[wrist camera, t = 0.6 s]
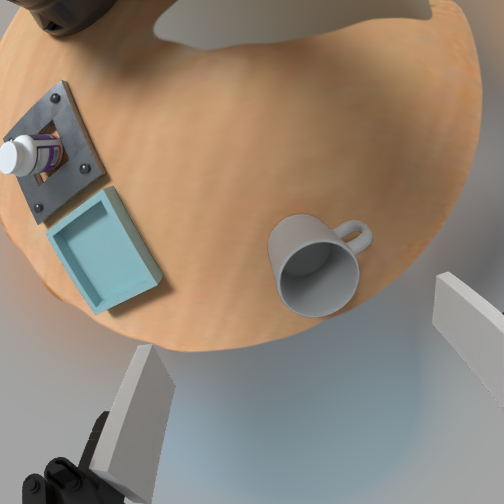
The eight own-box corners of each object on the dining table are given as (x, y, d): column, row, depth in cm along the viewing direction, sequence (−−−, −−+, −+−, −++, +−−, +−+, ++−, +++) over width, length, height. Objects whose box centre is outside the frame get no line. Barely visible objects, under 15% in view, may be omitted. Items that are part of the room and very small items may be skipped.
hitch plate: (8, 138, 30) (1, 138, 28) (66, 81, 28) (59, 79, 27) (43, 222, 35) (36, 225, 33) (106, 173, 33) (99, 174, 32)
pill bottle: (33, 149, 31) (-10, 154, 22) (55, 126, 31) (12, 125, 21) (46, 178, 33) (3, 189, 24) (69, 156, 32) (26, 161, 23)
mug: (288, 286, 39) (303, 332, 29) (254, 236, 37) (258, 270, 27) (362, 240, 38) (399, 271, 27) (333, 186, 35) (368, 201, 25)
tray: (56, 227, 35) (45, 233, 33) (113, 185, 34) (103, 189, 31) (103, 305, 40) (95, 315, 37) (163, 275, 38) (157, 284, 36)
